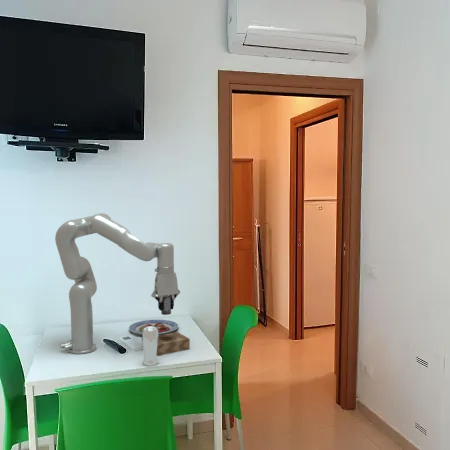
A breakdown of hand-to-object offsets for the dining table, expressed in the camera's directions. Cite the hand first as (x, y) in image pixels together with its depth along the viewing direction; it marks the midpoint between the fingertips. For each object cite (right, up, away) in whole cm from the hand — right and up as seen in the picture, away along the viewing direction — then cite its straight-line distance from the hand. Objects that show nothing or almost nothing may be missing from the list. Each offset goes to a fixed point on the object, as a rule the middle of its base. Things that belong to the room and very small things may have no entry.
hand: (166, 309), depth 208 cm
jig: (0, -19, +1) cm, 19 cm away
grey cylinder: (0, -2, 0) cm, 2 cm away
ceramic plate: (-10, -17, +30) cm, 36 cm away
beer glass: (-5, -20, -16) cm, 26 cm away
